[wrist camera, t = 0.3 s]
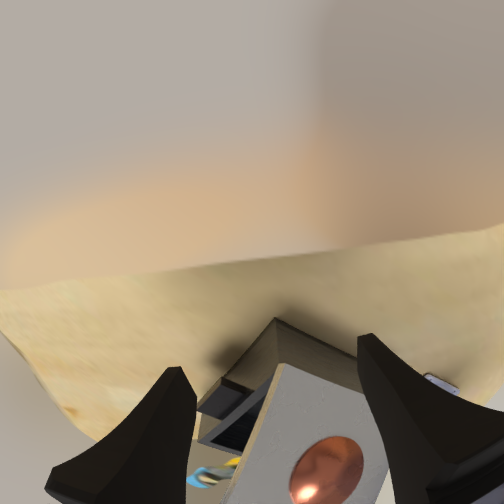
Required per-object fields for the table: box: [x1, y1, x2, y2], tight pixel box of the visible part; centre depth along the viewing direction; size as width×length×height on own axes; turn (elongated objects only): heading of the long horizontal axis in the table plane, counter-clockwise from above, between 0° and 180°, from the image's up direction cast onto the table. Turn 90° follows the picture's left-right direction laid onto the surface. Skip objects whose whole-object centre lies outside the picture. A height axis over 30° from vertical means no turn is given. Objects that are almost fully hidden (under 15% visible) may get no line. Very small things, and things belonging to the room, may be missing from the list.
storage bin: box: [197, 318, 364, 456], centre depth 22 cm, size 16×12×6 cm
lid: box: [220, 363, 389, 504], centre depth 14 cm, size 13×13×1 cm
